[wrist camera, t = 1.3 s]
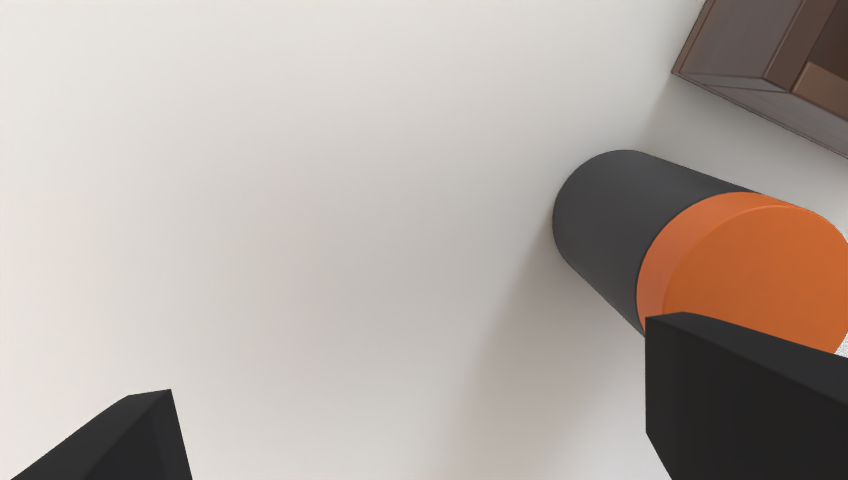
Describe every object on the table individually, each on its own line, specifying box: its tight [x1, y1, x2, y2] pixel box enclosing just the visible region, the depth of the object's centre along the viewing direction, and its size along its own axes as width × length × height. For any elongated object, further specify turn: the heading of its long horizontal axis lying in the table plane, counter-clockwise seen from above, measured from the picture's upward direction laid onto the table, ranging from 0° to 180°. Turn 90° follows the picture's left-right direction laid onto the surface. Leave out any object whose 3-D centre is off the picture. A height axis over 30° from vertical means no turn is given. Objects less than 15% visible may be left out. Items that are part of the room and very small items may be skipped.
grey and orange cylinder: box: [553, 150, 848, 354], centre depth 17 cm, size 4×4×8 cm
